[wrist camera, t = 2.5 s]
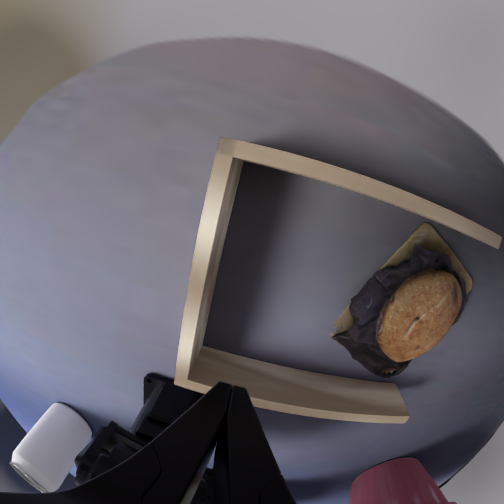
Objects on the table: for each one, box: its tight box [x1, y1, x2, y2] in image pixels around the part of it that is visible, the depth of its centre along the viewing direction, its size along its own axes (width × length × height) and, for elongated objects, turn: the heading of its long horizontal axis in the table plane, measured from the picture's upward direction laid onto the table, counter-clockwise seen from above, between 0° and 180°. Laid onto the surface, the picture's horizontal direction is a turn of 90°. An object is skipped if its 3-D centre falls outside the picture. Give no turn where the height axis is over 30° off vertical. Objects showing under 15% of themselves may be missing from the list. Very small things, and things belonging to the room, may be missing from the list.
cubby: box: [174, 137, 502, 423], centre depth 16 cm, size 15×17×4 cm
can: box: [10, 403, 92, 493], centre depth 20 cm, size 6×6×12 cm
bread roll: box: [330, 222, 473, 378], centre depth 16 cm, size 11×8×4 cm
